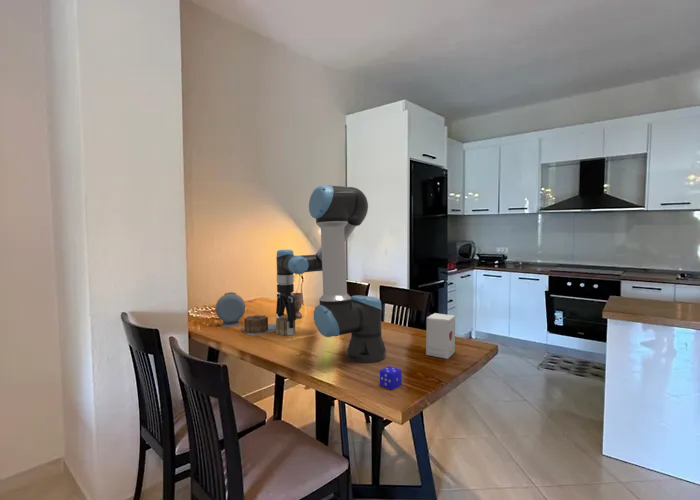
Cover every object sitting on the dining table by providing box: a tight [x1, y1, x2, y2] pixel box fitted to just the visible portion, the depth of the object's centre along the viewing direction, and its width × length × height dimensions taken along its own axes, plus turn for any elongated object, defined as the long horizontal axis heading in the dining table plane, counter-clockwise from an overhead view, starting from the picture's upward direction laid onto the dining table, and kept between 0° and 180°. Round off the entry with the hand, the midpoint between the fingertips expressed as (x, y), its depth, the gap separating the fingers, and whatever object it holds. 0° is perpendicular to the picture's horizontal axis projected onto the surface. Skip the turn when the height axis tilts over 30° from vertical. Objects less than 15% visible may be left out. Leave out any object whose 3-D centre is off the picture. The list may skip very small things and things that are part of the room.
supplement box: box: [425, 312, 456, 360], centre depth 147 cm, size 9×9×15 cm
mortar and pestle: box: [291, 292, 304, 319], centre depth 208 cm, size 12×9×20 cm
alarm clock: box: [215, 291, 246, 328], centre depth 189 cm, size 14×10×18 cm
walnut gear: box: [243, 314, 269, 334], centre depth 178 cm, size 10×10×6 cm
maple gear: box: [275, 316, 296, 337], centre depth 173 cm, size 9×9×8 cm
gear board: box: [240, 315, 279, 337], centre depth 181 cm, size 14×22×6 cm, turn 124°
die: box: [379, 365, 403, 391], centre depth 119 cm, size 5×5×5 cm
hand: (285, 332), depth 173 cm, fingers closed on maple gear, 9 cm apart
